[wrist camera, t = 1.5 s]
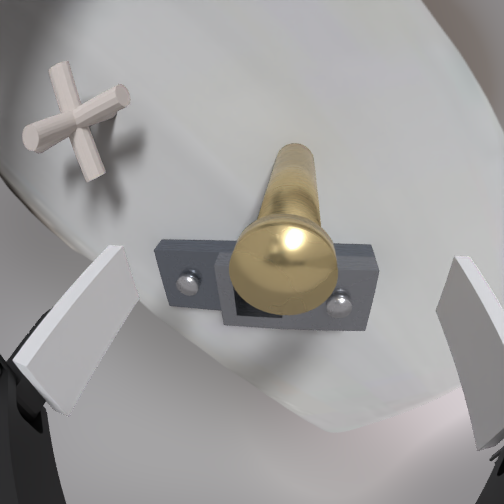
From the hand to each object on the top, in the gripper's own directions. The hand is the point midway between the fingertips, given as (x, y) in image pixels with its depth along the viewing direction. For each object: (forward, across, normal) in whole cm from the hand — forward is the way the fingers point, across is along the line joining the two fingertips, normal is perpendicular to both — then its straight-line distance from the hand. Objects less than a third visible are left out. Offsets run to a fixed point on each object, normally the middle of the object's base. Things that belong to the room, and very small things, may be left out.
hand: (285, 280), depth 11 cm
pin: (+15, 0, 0) cm, 15 cm away
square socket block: (+15, -3, -10) cm, 19 cm away
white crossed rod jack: (+15, -16, +6) cm, 23 cm away
